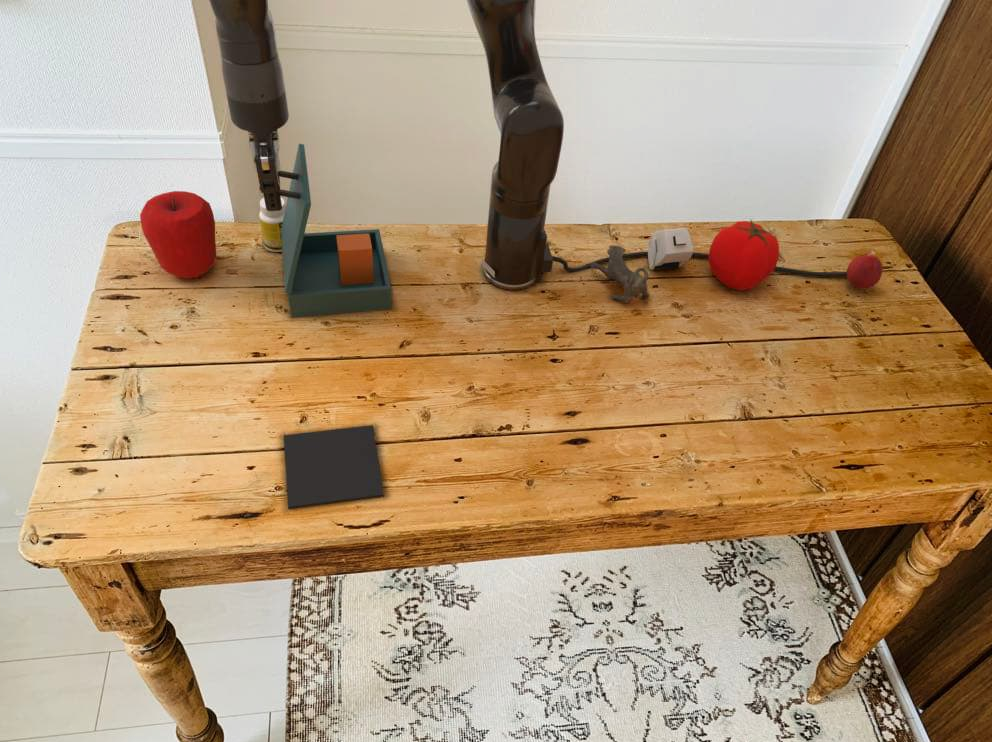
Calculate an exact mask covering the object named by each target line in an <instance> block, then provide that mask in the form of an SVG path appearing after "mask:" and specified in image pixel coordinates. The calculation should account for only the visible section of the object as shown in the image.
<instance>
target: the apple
mask: <svg viewBox="0 0 992 742" xmlns="http://www.w3.org/2000/svg"><path fill="white" fill-rule="evenodd" d="M213 212H214V211H213V209H212V206H211V204H210V203H209V202H208V201H207V200H206V199H204V197H202V196H200V195H199V194H196V193H194V192H190V191H183V190H173V191H167V192H164V193H161V194H157V195H155V196H153V197H151V198H150V199H148V200H146V202H145V204H144V206H143V208H142V210H141V212H140V213H139V218H140V225H141V230H142V233H143V236H144V238H145V240H146V242H147V243H148V245H149V247H150V248H151V250H152V253H153V255H154V256H155V258H156V260H157V262H158V264H159V266H160V267H161V268H162V269H163V271H165V273H168V274H170V275H172V276H174V277H177V278H180V279H187V280H188V279H189V280H190V279H195V278H199V277H202V276H204V274H205V273H207V272H208V271H209V270H210V268H212V267H213V265H214V264H215V262H216V259H217V245H216V221H215V216H214V213H213Z"/></svg>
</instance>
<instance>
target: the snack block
mask: <svg viewBox="0 0 992 742" xmlns="http://www.w3.org/2000/svg"><path fill="white" fill-rule="evenodd" d="M336 240H337V252H338V264H339V274H340V281H341V285H354V284H368V283H374V282H373V259H372V246H371V240H370V235H369V233H368V234H351V235H336Z"/></svg>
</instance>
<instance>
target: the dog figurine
mask: <svg viewBox="0 0 992 742" xmlns="http://www.w3.org/2000/svg"><path fill="white" fill-rule="evenodd" d="M606 252H607V255H608V257H609V262H608V264H607V267H606V266H604V265H602V264H598V263H595V261H593V262H594V263H593V264H591V265H590V266H591V268H590V269H595V270H599V271H601V273H603V274H604V276H605V277H606V278H608V279H609V280H613V281H614V282H615V283H616V284H617V285H618V286H620V287H621V288H623V290H624V294H620V293H613V294H612V295H611V299H613V300H616V301H618V302H623V303H625V304H628V303H630V301H631V299H632V298H633V297H634V298H635V299H636V298H639V297H640V295H641V299H644V300H647V299H649V297H650V293H649V292H648V285H647V281H648V280H649V276H650V275H649V271H648V270H647V269H646V268H645V267H639V268H636V270H635V271H633V270H631V269H630V268H629V267H628V265H627V264H626V262H625V261H624V259H623V258H622V257H623V255H624V254H625V252H626V248H624V247H622V246H620V245H613V244H611V245H609V247H608V249H607V250H606ZM641 272H642V273H643V275H642V274H641Z"/></svg>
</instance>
